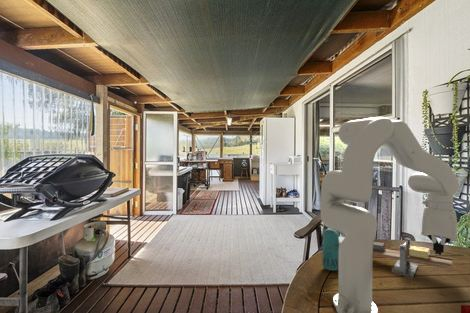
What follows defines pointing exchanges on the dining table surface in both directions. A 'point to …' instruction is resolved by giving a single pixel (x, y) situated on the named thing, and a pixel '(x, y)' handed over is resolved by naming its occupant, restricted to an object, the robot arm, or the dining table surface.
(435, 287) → the dining table surface
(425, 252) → the block
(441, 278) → the dining table surface
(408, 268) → the stand
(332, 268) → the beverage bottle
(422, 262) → the beam
